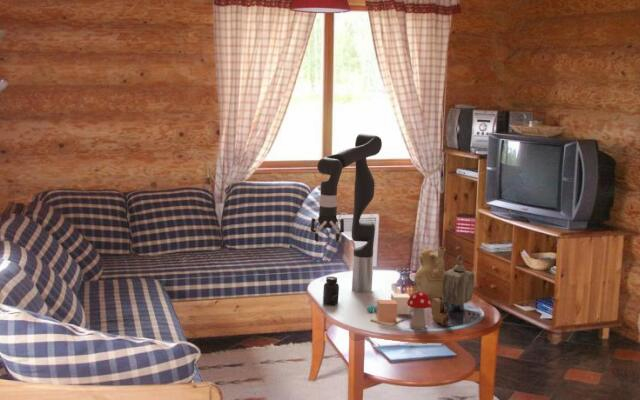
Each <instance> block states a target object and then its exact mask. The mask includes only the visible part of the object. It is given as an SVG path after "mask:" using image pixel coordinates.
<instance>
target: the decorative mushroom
mask: <svg viewBox="0 0 640 400" xmlns="http://www.w3.org/2000/svg"><path fill="white" fill-rule="evenodd" d="M409 296H410V298H409V299H408V302H407V305H408V306H410V308H413V309H414V310H413V314H412V318H411V320H410V321H409V325H410V328H411V327H412V329H414V328H418V329H417V330H421V329H422V328H424V329H426V328H427V321H426V317H425V312H424V311H425V310H424V309H428V308H430V307H431V305H432V302H431V300H432V299H430V298H429V296H428V295H427V294H426V293H424V292H416V291H415V292H413V293H412V294H411V295H409ZM422 330H423V329H422Z"/></svg>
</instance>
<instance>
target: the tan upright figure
mask: <svg viewBox="0 0 640 400" xmlns="http://www.w3.org/2000/svg"><path fill="white" fill-rule="evenodd" d="M445 252H446V248H445V247H443V246H439V247H438V252H436V251H435V250H434V249H432V248H425V249H422V250H421V252H420V256H419V262H420V265H421V267H420V268H418V269H417V271H416V273H415V275H414V280H413V281H414V282H415V283H416V284H417V292H424V293H426V294H427V295H428V296H429V298H430V300H432V298H439V299H442V283H443V276H444V273H445V272H446V270H445V260H444V255H445ZM415 283H414V284H415Z"/></svg>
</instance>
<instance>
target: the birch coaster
mask: <svg viewBox="0 0 640 400" xmlns="http://www.w3.org/2000/svg"><path fill="white" fill-rule="evenodd" d="M403 320H404V319H403V318H401V317H398V316H397V317H396V321H378V319H377V317H376V316H375V317H373V318H371V319H370V322H372V321H373V323H377V324H381V325H386V326H388V327H392V326H394V325H396V324H398V323H400V322H402V321H403Z"/></svg>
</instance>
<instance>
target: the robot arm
mask: <svg viewBox="0 0 640 400" xmlns="http://www.w3.org/2000/svg"><path fill="white" fill-rule="evenodd" d="M382 144H383V141H382V139H381V137H380V136H378V135H376V134H369V133H359V134H357V137H356V138H355V144H354V146H353V147H349V148H345V149H343V150H340V151H338V152H337V153H334V154H329V155H326V156H323V157H322V158H320V160H319V161H318V162H317V170H318V172H319V174H323V175H326V176H329V178H328V179H324V180H322V181H321V183H320V193H319V194H320V196H319V203H318V204H319V207H318V210H319V211H318V218H316V217H311V220H310V221H311V222H310V231H311V233H314V236H313V238H314V241H315V242H316V243H318V242H319V232H321V230H322V229H332V228H333V230H335V235H334V239H335V240H334V241H335V243H338V242H339V241H340V233H344V231H345V220H344V218H343V217H340V218H338V216H337V214H338V212H337V211H338V185H339V181H340V177H341V175H342V171H343V169H344V168H347V167H348V166H350V165H352V164H354V163H355V175H354V176H355V178H354V189H353V190H354V191H353V200H354V201H353V213H352V224H351V239H352V240H353V242H366V243H365V244H364V245H362V246H359V247H356V248H355V249H353V258H352V261H353V264H352V279H351V280H352V281H351V282H352V283H351V291H352V292H354V293H359V294H368V293H371V292H372V290H373V289H372V288H373V274H374V273H373V272H374V271H373V265H374V264H373V263H374V242H375V234H376V226H375V224H374V222H371V221H369V222H368V221H360V220H361V217H362V214H363V212H364V211H365V209H367V207H368V206H369V205H370V203H371V202H372V200H373V199H374V197H375V184H376V183H375V180H374V176H373V174H372V173H371V170H370V168H369V165H368V162H367V159H368V158H369V157H373V156H374V157H375V156H376V155H378V154H379V153H380V151H381V150H382V146H383V145H382ZM317 222H318V223H319V224H318V225H317V226H316V228H315V225H316V223H317ZM337 223H339V226H340V227H339V229H338V226H336V224H337Z"/></svg>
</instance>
